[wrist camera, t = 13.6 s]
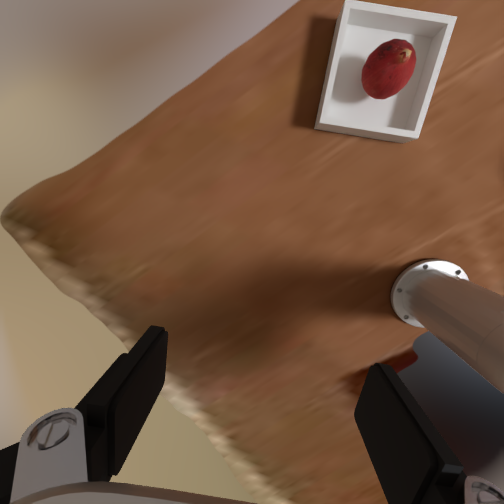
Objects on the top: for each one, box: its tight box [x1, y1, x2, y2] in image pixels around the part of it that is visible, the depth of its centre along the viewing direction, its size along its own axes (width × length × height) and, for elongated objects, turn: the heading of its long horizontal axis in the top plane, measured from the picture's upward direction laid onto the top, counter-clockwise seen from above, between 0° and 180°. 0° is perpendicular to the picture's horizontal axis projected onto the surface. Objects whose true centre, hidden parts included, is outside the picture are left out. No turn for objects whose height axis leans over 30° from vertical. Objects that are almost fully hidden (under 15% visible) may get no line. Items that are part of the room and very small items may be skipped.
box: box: [314, 0, 457, 143], centre depth 31 cm, size 14×14×4 cm
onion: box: [361, 39, 416, 99], centre depth 29 cm, size 6×6×8 cm
